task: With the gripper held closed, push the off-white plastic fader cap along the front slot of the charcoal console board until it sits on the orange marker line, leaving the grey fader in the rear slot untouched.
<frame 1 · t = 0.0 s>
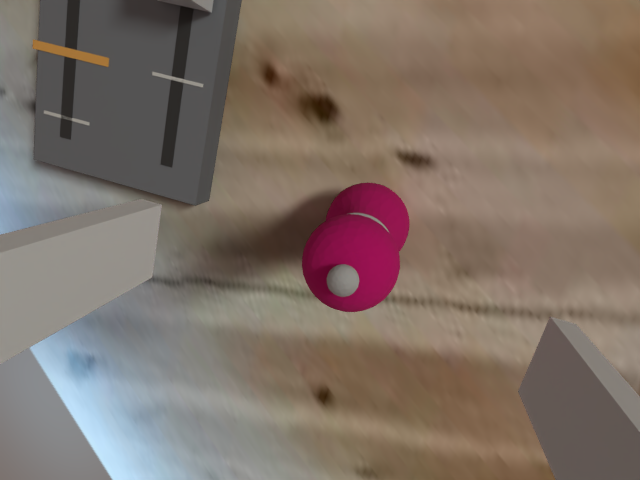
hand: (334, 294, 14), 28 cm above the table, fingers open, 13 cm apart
console: (147, 27, 41), on the table
pepper mill: (371, 214, 42), on the table
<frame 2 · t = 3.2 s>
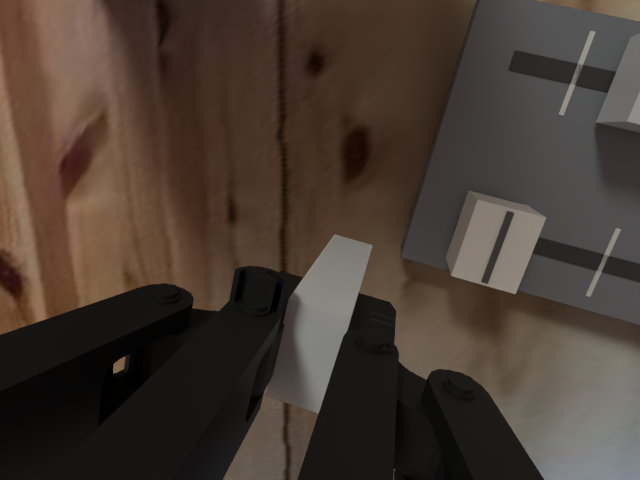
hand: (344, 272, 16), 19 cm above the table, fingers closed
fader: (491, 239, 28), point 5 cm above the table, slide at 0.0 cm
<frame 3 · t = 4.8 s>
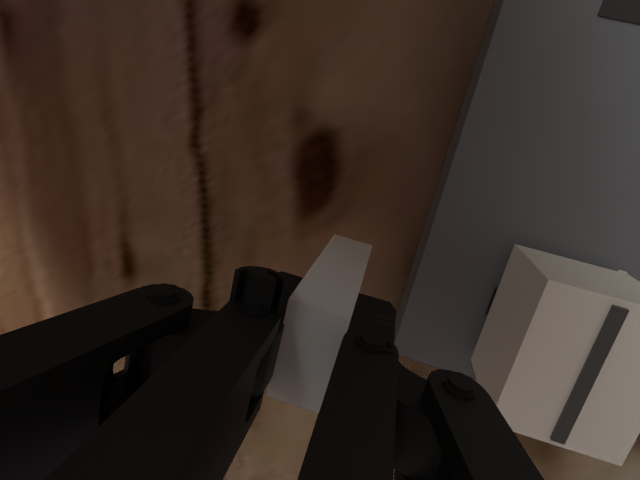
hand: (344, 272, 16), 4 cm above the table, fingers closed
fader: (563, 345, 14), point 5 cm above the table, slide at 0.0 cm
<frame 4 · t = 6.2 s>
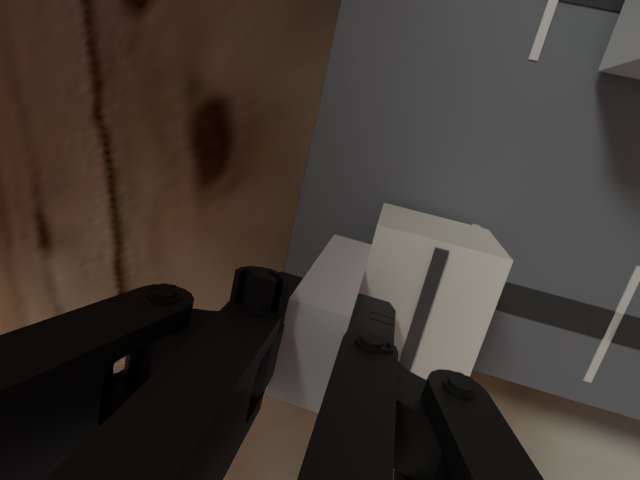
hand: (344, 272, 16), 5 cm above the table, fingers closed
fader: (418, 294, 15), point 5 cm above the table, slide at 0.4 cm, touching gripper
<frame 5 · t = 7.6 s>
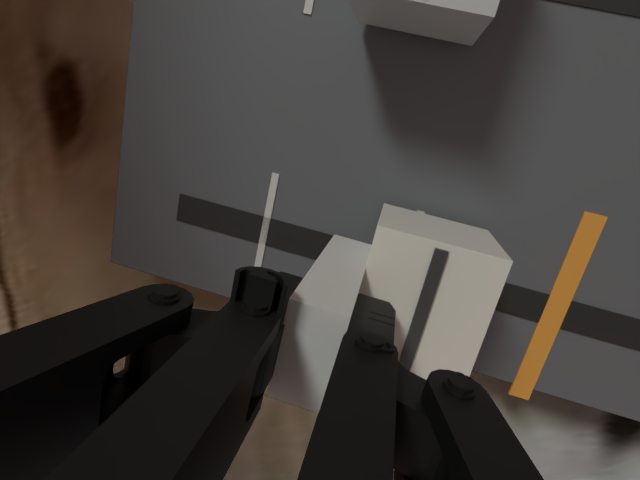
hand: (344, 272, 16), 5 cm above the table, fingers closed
console: (484, 143, 19), on the table
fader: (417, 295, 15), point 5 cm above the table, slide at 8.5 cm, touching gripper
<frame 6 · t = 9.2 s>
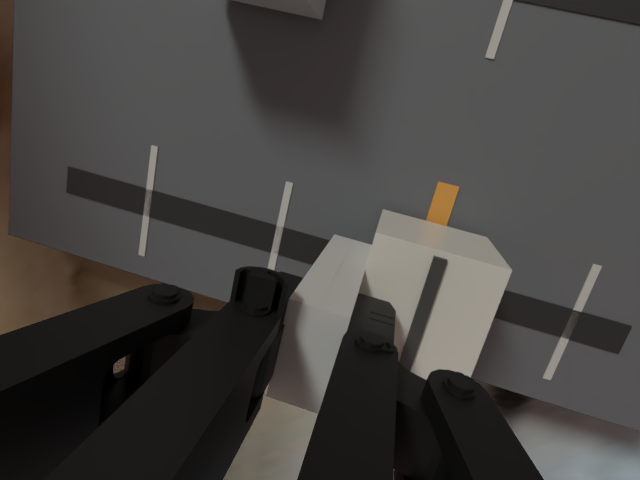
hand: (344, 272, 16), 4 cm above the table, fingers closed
console: (363, 120, 19), on the table
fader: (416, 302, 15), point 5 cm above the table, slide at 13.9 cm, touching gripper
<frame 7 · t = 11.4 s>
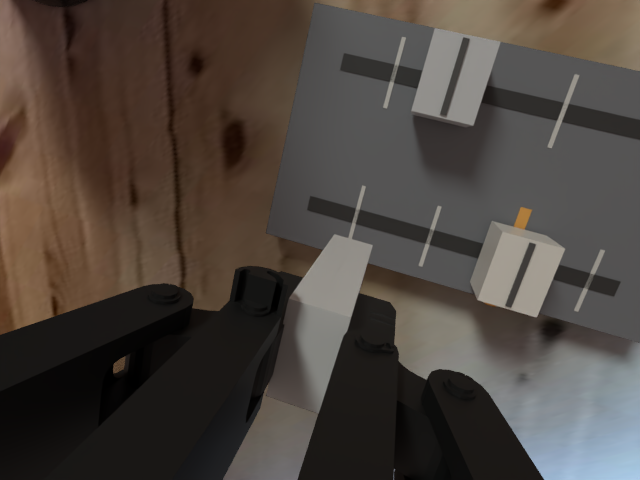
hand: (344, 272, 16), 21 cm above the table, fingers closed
console: (473, 171, 35), on the table
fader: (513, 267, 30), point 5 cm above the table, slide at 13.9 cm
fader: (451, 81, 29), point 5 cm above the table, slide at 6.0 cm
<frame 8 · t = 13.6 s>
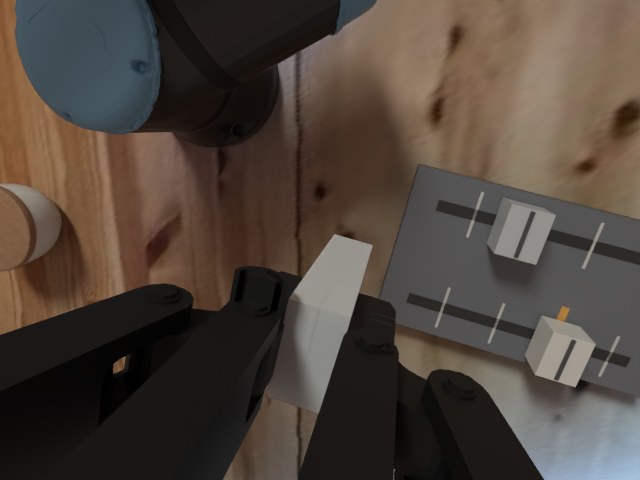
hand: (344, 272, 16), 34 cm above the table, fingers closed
console: (525, 274, 49), on the table
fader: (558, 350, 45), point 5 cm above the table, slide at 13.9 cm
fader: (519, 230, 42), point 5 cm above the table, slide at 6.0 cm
lidded jar: (43, 216, 60), on the table
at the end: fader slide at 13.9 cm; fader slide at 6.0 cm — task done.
